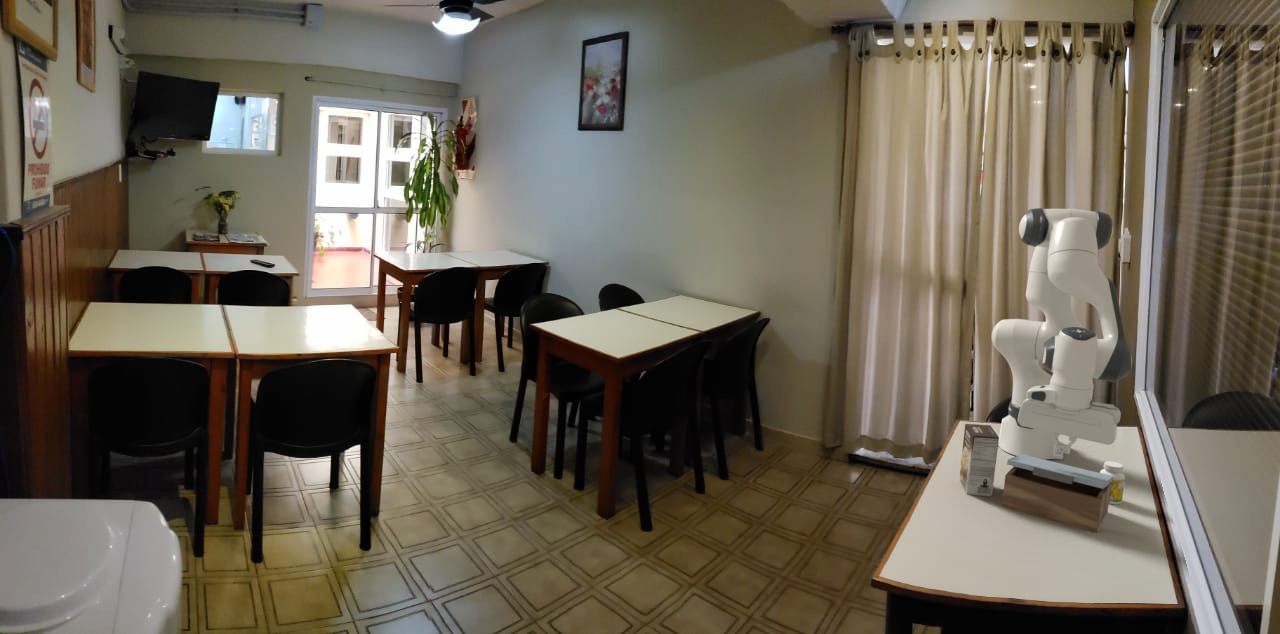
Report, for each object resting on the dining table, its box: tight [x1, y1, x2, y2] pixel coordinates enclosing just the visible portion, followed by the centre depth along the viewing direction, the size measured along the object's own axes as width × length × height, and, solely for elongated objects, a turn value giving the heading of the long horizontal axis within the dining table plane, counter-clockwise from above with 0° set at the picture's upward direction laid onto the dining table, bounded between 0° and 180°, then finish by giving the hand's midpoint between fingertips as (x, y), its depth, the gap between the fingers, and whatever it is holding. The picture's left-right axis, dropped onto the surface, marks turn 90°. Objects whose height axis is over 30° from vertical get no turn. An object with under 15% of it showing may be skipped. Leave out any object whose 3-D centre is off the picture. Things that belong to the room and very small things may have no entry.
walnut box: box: [1001, 466, 1112, 534], centre depth 172 cm, size 14×20×8 cm
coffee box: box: [959, 423, 999, 497], centre depth 183 cm, size 9×6×16 cm
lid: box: [1006, 454, 1113, 489], centre depth 171 cm, size 15×20×2 cm
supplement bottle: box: [1099, 460, 1126, 505], centre depth 177 cm, size 5×5×10 cm
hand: (1062, 452), depth 170 cm, fingers closed
